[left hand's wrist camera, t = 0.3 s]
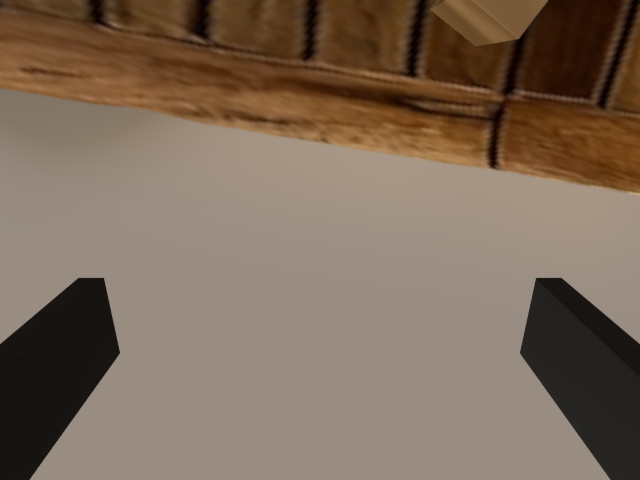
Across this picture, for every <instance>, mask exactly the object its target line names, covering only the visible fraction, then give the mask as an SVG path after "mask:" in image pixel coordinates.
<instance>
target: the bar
mask: <svg viewBox="0 0 640 480" xmlns="http://www.w3.org/2000/svg"><path fill="white" fill-rule="evenodd" d="M547 1H548V0H436V1H435V3H434V4H433V6H432V7H431V11H433V12H434V13H435V14H436V15H438V16H439V17H440V18H441V19H442V20H444V21H445V22H446V23H447V24H449V25H450V26H451V27H452V28H454V29H455V30H456V31H457V32H458V33H460V34H461V35H462V36H463V37H465V38H466V39H467V40H468V41H469V42H471V43H472V44H473V45H474V46H481V45H487V44H493V43H499V42H504V41H510V40H516V39H519V38H520V37H521V35H522V34H523V33H524V31H525V30H526V29H527V28H528V26H529V25H530V24H531V22H532V21H533V20H534V18H535V17H536V16H537V14H538V13H539V12H540V11H541V9H542V8H543V7H544V5H545V4H546V3H547Z"/></svg>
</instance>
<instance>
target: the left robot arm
mask: <svg viewBox="0 0 640 480" xmlns="http://www.w3.org/2000/svg"><path fill="white" fill-rule="evenodd" d="M119 354H120V351H119V346H118V341H117V337H116V332H115V327H114V323H113V318H112V314H111V309H110V304H109V300H108V295H107V290H106V286H105V281H104V278H78V279H77V280H76V281H74V282H73V283H72V284H71V285H70V286H69V287H67V288H66V289H65V290H64V291H63V292H61V293H60V294H59V295H58V296H57V297H56V298H54V299H53V300H52V301H51V302H50V303H48V304H47V305H46V306H45V307H44V308H43V309H41V310H40V311H39V312H38V313H37V314H35V315H34V316H33V317H32V318H31V319H30V320H28V321H27V322H26V323H25V324H24V325H22V326H21V327H20V328H19V329H18V330H16V331H15V332H14V333H13V334H12V335H11V336H9V337H8V338H7V339H6V340H5V341H3V342H2V343H1V344H0V480H30V478H31V477H32V475H33V474H34V473H35V471H36V470H37V468H38V467H39V466H40V464H41V463H42V461H43V460H44V459H45V457H46V456H47V454H48V453H49V452H50V450H51V449H52V447H53V446H54V445H55V443H56V442H57V440H58V439H59V438H60V436H61V435H62V433H63V432H64V431H65V429H66V428H67V426H68V425H69V424H70V422H71V421H72V419H73V418H74V417H75V415H76V414H77V413H78V411H79V410H80V408H81V407H82V405H83V404H84V403H85V401H86V400H87V399H88V397H89V396H90V394H91V393H92V392H93V390H94V389H95V387H96V386H97V385H98V383H99V382H100V380H101V379H102V378H103V376H104V375H105V373H106V372H107V371H108V369H109V368H110V366H111V365H112V364H113V362H114V361H115V360H116V358H117V357H118V355H119ZM520 354H521V355H522V357H523V358H524V360H525V361H526V362H527V364H528V365H529V366H530V368H531V369H532V371H533V372H534V373H535V375H536V376H537V378H538V379H539V380H540V382H541V383H542V385H543V386H544V387H545V389H546V390H547V392H548V393H549V394H550V396H551V397H552V399H553V400H554V401H555V403H556V404H557V406H558V407H559V408H560V410H561V411H562V413H563V414H564V415H565V417H566V418H567V420H568V421H569V422H570V424H571V425H572V426H573V428H574V429H575V431H576V432H577V433H578V435H579V436H580V438H581V439H582V440H583V442H584V443H585V445H586V446H587V447H588V449H589V450H590V452H591V453H592V454H593V456H594V457H595V459H596V460H597V461H598V463H599V464H600V465H601V467H602V468H603V470H604V471H605V472H606V474H607V475H608V477H609V478H610V480H640V344H639V343H638V342H637V341H635V340H634V339H633V338H632V337H631V336H629V335H628V334H627V333H626V332H625V331H624V330H622V329H621V328H620V327H619V326H618V325H616V324H615V323H614V322H613V321H612V320H611V319H609V318H608V317H607V316H606V315H605V314H603V313H602V312H601V311H600V310H599V309H598V308H596V307H595V306H594V305H593V304H592V303H590V302H589V301H588V300H587V299H586V298H584V297H583V296H582V295H581V294H580V293H579V292H577V291H576V290H575V289H574V288H573V287H571V286H570V285H569V284H568V283H567V282H566V281H564V280H563V279H562V278H536V281H535V286H534V290H533V295H532V300H531V304H530V309H529V314H528V318H527V323H526V327H525V332H524V337H523V342H522V346H521V351H520Z"/></svg>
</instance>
